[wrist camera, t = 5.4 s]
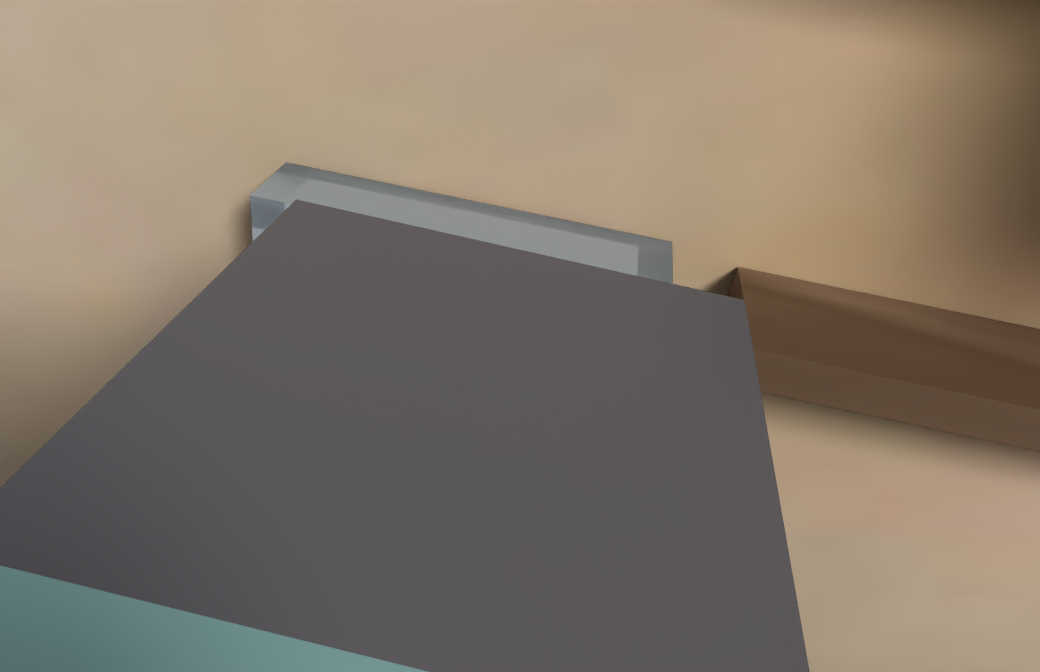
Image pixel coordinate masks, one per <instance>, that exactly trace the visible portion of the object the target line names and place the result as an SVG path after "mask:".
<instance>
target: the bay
mask: <svg viewBox="0 0 1040 672" xmlns="http://www.w3.org/2000/svg"><path fill="white" fill-rule="evenodd" d="M728 296H729V297H733V298H738V299H742V300H745V306H746V312H747V317H748V323H749V329H750V334H751V340H752V346H753V352H754V357H755V363H756V369H757V374H758V380H759V386H760V392H763V393H768V394H772V395H777V396H782V397H786V398H791V399H796V400H801V401H805V402H810V403H815V404H819V405H824V406H829V407H833V408H838V409H843V410H848V411H852V412H857V413H862V414H866V415H871V416H876V417H880V418H885V419H890V420H895V421H899V422H904V423H909V424H913V425H918V426H923V427H927V428H932V429H937V430H942V431H946V432H951V433H956V434H960V435H965V436H970V437H974V438H979V439H984V440H989V441H993V442H998V443H1003V444H1007V445H1012V446H1017V447H1021V448H1026V449H1031V450H1035V451H1040V329H1035V328H1031V327H1026V326H1021V325H1016V324H1011V323H1006V322H1002V321H997V320H992V319H987V318H982V317H977V316H972V315H968V314H963V313H958V312H953V311H948V310H943V309H939V308H934V307H929V306H924V305H919V304H914V303H909V302H905V301H900V300H895V299H890V298H885V297H880V296H876V295H871V294H866V293H861V292H856V291H851V290H846V289H842V288H837V287H832V286H827V285H822V284H817V283H813V282H808V281H803V280H798V279H793V278H788V277H784V276H779V275H774V274H769V273H764V272H759V271H754V270H750V269H745V268H740V267H738V269H737V272H736V274H735V277H734V280H733V283H732V285H731V288H730V291H729V294H728Z"/></svg>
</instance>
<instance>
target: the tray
mask: <svg viewBox="0 0 1040 672" xmlns="http://www.w3.org/2000/svg"><path fill="white" fill-rule="evenodd" d="M296 199H297V200H302V201H306V202H311V203H315V204H319V205H324V206H328V207H333V208H337V209H342V210H346V211H351V212H355V213H359V214H364V215H368V216H373V217H377V218H382V219H386V220H391V221H395V222H400V223H404V224H408V225H413V226H417V227H422V228H426V229H431V230H435V231H440V232H444V233H448V234H453V235H457V236H462V237H466V238H471V239H475V240H480V241H484V242H489V243H493V244H497V245H502V246H506V247H511V248H515V249H520V250H524V251H529V252H533V253H538V254H542V255H546V256H551V257H555V258H560V259H564V260H569V261H573V262H578V263H582V264H586V265H591V266H595V267H600V268H604V269H609V270H613V271H618V272H622V273H627V274H631V275H635V276H640V277H644V278H649V279H653V280H658V281H662V282H667V283H671V284H673V262H672V242H670V241H665V240H660V239H655V238H650V237H646V236H641V235H636V234H631V233H626V232H621V231H616V230H611V229H607V228H602V227H597V226H592V225H587V224H582V223H577V222H573V221H568V220H563V219H558V218H553V217H548V216H543V215H539V214H534V213H529V212H524V211H519V210H514V209H509V208H505V207H500V206H495V205H490V204H485V203H480V202H475V201H471V200H466V199H461V198H456V197H451V196H446V195H441V194H437V193H432V192H427V191H422V190H417V189H412V188H407V187H403V186H398V185H393V184H388V183H383V182H378V181H373V180H368V179H364V178H359V177H354V176H349V175H344V174H339V173H334V172H330V171H325V170H320V169H315V168H310V167H305V166H300V165H296V164H291V163H285V164H284V165H283V166H282V167H281V168H279V169H278V170H277V171H276V172H275V173H274V174H273V175H272V176H271V177H270V178H268V179H267V180H266V181H265V182H264V183H263V184H262V185H261V186H260V187H259V188H257V189H256V190H255V191H254V192H253V193H252V194H251V195H250V203H251V220H252V237H253V241H254V240H255V239H256V238H257V237H258V236H259V235H260V234H261V233H262V232H263V231H264V230H265V229H266V228H267V227H268V226H269V225H270V224H271V223H272V222H273V221H274V220H275V219H276V218H278V217H279V216H280V215H281V214H282V213H283V212H284V211H285V210H286V209H287V208H288V207H289V206H290V205H291V204H292V203H293V202H294V201H295V200H296Z"/></svg>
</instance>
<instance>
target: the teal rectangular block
mask: <svg viewBox="0 0 1040 672" xmlns="http://www.w3.org/2000/svg"><path fill="white" fill-rule="evenodd" d="M0 672H809V666H808V661H807V655H806V649H805V643H804V638H803V632H802V626H801V620H800V615H799V609H798V603H797V598H796V592H795V586H794V580H793V575H792V569H791V563H790V558H789V552H788V546H787V540H786V535H785V529H784V523H783V518H782V512H781V506H780V500H779V495H778V489H777V483H776V477H775V472H774V466H773V460H772V455H771V449H770V443H769V437H768V432H767V426H766V420H765V415H764V409H763V403H762V397H761V392H760V386H759V380H758V374H757V369H756V363H755V357H754V352H753V346H752V340H751V334H750V329H749V323H748V317H747V312H746V306H745V300H742V299H738V298H733V297H729V296H724V295H720V294H716V293H711V292H707V291H702V290H698V289H693V288H689V287H684V286H680V285H676V284H671V283H667V282H662V281H658V280H653V279H649V278H644V277H640V276H635V275H631V274H627V273H622V272H618V271H613V270H609V269H604V268H600V267H595V266H591V265H586V264H582V263H578V262H573V261H569V260H564V259H560V258H555V257H551V256H546V255H542V254H538V253H533V252H529V251H524V250H520V249H515V248H511V247H506V246H502V245H497V244H493V243H489V242H484V241H480V240H475V239H471V238H466V237H462V236H457V235H453V234H448V233H444V232H440V231H435V230H431V229H426V228H422V227H417V226H413V225H408V224H404V223H400V222H395V221H391V220H386V219H382V218H377V217H373V216H368V215H364V214H359V213H355V212H351V211H346V210H342V209H337V208H333V207H328V206H324V205H319V204H315V203H311V202H306V201H302V200H297V199H296V200H295V201H294V202H293V203H292V204H291V205H290V206H289V207H288V208H287V209H286V210H285V211H284V212H283V213H282V214H281V215H280V216H279V217H278V218H276V219H275V220H274V221H273V222H272V223H271V224H270V225H269V226H268V227H267V228H266V229H265V230H264V231H263V232H262V233H261V234H260V235H259V236H258V237H257V238H256V239H255V240H254V241H253V242H252V243H251V244H250V245H249V246H248V247H247V248H246V249H245V250H244V251H243V252H242V253H241V254H240V255H239V256H238V257H237V258H236V259H234V260H233V261H232V262H231V263H230V264H229V265H228V266H227V267H226V268H225V269H224V270H223V271H222V272H221V273H220V274H219V275H218V276H217V277H216V278H215V279H214V280H213V281H212V282H211V283H210V284H209V285H208V286H207V287H206V288H205V289H204V290H203V291H202V292H201V293H200V294H199V295H198V296H197V297H196V298H195V299H193V300H192V301H191V302H190V303H189V304H188V305H187V306H186V307H185V308H184V309H183V310H182V311H181V312H180V313H179V314H178V315H177V316H176V317H175V318H174V319H173V320H172V321H171V322H170V323H169V324H168V325H167V326H166V327H165V328H164V329H163V330H162V331H161V332H160V333H159V334H158V335H157V336H156V337H155V338H154V339H153V340H151V341H150V342H149V343H148V344H147V345H146V346H145V347H144V348H143V349H142V350H141V351H140V352H139V353H138V354H137V355H136V356H135V357H134V358H133V359H132V360H131V361H130V362H129V363H128V364H127V365H126V366H125V367H124V368H123V369H122V370H121V371H120V372H119V373H118V374H117V375H116V376H115V377H114V378H113V379H112V380H111V381H109V382H108V383H107V384H106V385H105V386H104V387H103V388H102V389H101V390H100V391H99V392H98V393H97V394H96V395H95V396H94V397H93V398H92V399H91V400H90V401H89V402H88V403H87V404H86V405H85V406H84V407H83V408H82V409H81V410H80V411H79V412H78V413H77V414H76V415H75V416H74V417H73V418H72V419H71V420H70V421H68V422H67V423H66V424H65V425H64V426H63V427H62V428H61V429H60V430H59V431H58V432H57V433H56V434H55V435H54V436H53V437H52V438H51V439H50V440H49V441H48V442H47V443H46V444H45V445H44V446H43V447H42V448H41V449H40V450H39V451H38V452H37V453H36V454H35V455H34V456H33V457H32V458H31V459H30V460H29V461H28V462H26V463H25V464H24V465H23V466H22V467H21V468H20V469H19V470H18V471H17V472H16V473H15V474H14V475H13V476H12V477H11V478H10V479H9V480H8V481H7V482H6V483H5V484H4V485H3V486H2V487H1V488H0Z"/></svg>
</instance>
